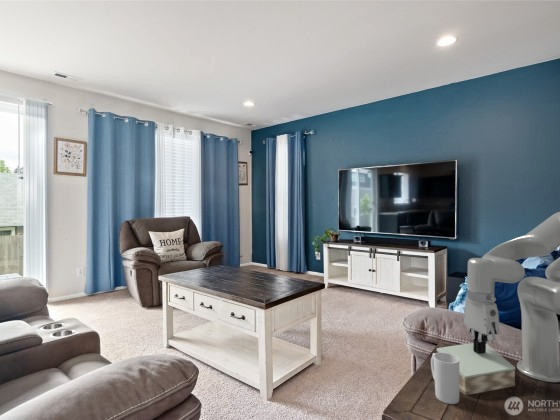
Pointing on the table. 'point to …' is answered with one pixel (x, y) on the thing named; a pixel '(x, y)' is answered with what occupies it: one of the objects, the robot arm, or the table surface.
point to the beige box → (486, 382)
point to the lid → (477, 361)
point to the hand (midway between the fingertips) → (479, 352)
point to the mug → (446, 377)
